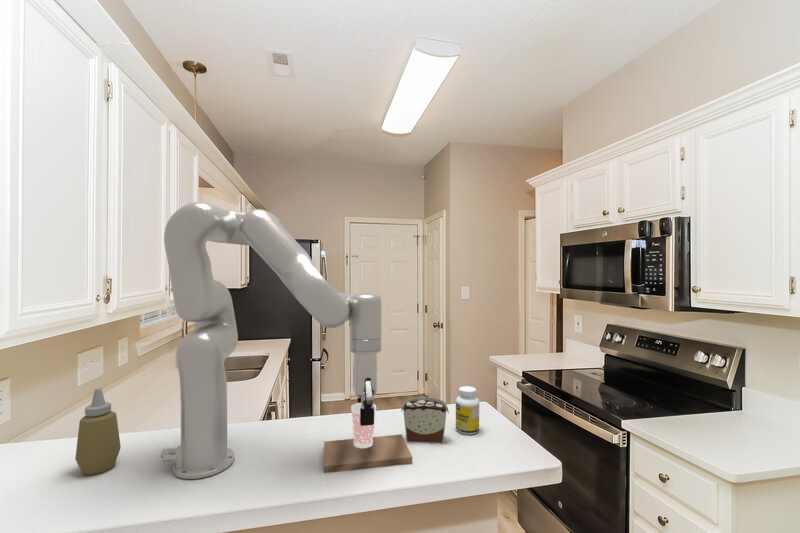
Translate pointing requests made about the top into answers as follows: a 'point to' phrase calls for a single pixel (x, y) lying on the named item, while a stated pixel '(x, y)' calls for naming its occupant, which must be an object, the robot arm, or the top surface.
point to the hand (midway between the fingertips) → (365, 418)
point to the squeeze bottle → (97, 437)
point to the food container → (424, 420)
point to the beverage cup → (361, 428)
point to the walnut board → (366, 454)
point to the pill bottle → (467, 411)
